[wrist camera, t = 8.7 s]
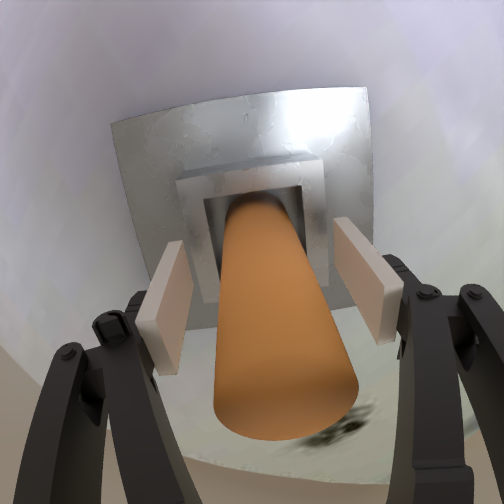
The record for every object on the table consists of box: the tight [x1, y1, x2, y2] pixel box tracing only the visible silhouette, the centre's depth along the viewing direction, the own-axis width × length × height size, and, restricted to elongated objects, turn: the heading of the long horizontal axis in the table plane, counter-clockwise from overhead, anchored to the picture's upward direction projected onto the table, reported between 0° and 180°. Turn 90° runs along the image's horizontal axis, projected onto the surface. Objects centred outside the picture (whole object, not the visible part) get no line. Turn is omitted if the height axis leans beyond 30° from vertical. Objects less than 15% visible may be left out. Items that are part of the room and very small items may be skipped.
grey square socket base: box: [111, 87, 373, 330], centre depth 20 cm, size 16×16×4 cm
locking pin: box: [213, 191, 359, 441], centre depth 14 cm, size 4×4×14 cm
